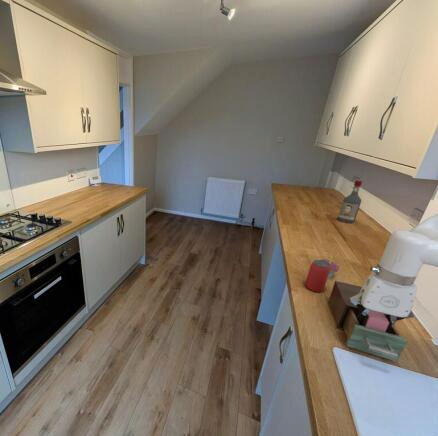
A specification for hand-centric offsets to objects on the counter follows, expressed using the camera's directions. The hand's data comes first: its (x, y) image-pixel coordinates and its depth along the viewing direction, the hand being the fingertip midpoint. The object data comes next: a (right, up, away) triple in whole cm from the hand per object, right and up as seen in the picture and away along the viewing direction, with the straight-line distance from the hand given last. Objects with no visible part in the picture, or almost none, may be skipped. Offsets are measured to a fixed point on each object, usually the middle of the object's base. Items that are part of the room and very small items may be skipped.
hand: (371, 325), depth 71 cm
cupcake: (+14, +6, +38) cm, 41 cm away
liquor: (+80, +30, +105) cm, 135 cm away
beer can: (+2, +3, +28) cm, 29 cm away
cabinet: (+5, -3, +12) cm, 13 cm away
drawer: (0, -6, +2) cm, 6 cm away
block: (0, 0, 0) cm, 0 cm away
